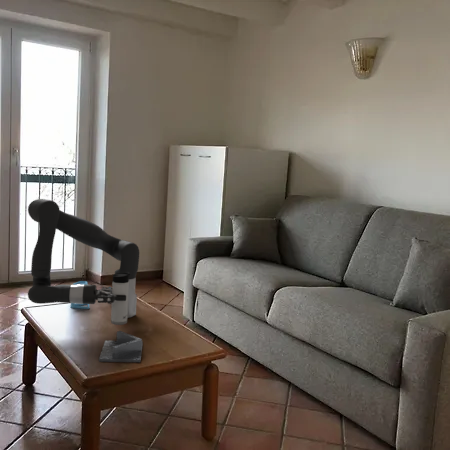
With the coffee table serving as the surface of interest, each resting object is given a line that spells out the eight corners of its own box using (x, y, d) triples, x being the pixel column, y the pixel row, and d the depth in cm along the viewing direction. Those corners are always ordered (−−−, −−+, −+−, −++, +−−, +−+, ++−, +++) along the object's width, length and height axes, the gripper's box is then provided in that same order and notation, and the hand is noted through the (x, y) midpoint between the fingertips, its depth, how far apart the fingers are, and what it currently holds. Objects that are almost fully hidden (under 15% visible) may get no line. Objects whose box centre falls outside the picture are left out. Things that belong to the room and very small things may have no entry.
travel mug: (128, 324, 202) (130, 274, 200) (111, 325, 200) (113, 274, 198) (127, 319, 208) (129, 271, 205) (110, 320, 206) (112, 271, 204)
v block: (98, 361, 177) (99, 347, 176) (105, 343, 195) (105, 330, 194) (140, 362, 179) (140, 348, 178) (142, 343, 196) (143, 331, 196)
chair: (70, 304, 241) (70, 279, 239) (88, 304, 243) (89, 279, 241) (70, 309, 233) (70, 283, 232) (89, 309, 236) (90, 283, 234)
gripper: (80, 289, 193) (125, 291, 195) (86, 280, 208) (128, 281, 210) (79, 309, 194) (125, 310, 196) (85, 298, 209) (127, 299, 211)
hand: (126, 295), depth 203 cm, fingers closed on travel mug, 6 cm apart
